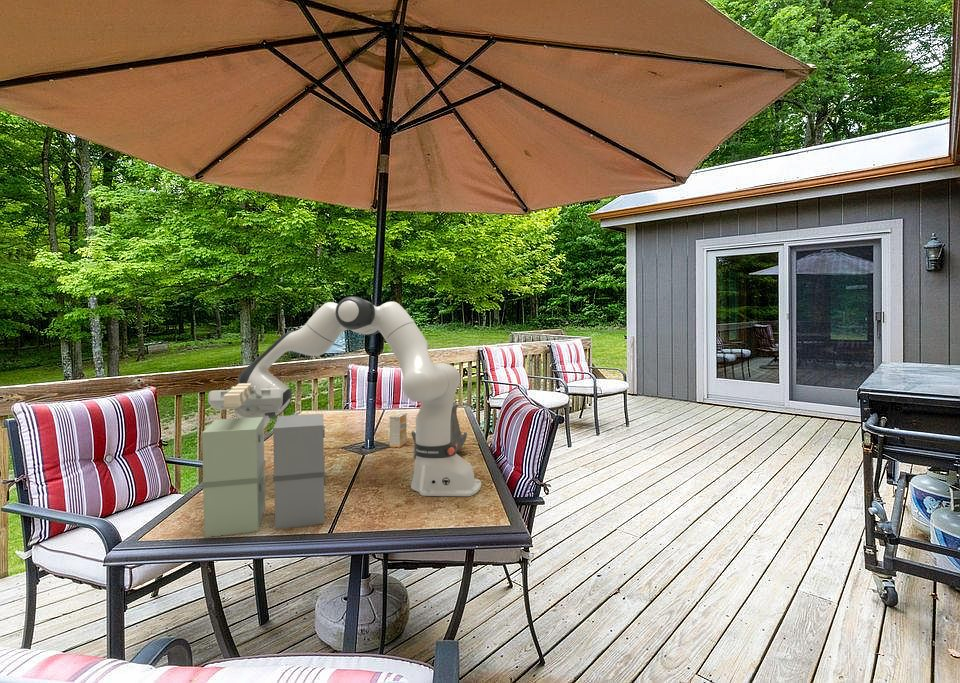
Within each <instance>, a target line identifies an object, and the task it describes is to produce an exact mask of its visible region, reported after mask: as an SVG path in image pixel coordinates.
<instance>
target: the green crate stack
mask: <svg viewBox="0 0 960 683" xmlns="http://www.w3.org/2000/svg"><path fill="white" fill-rule="evenodd" d="M201 439H202V440H201V445H202V447H201V449H202V452H201V453H202V483H201V488H202V489H203V490H202V491H203V520H204V521H203V523H204V524H203V526H204V527H203V528H204V531H203V532H204V538H211V536H214V537H219V536H220V537H221V535H223V536H229V535H230V536H231V535H237V534H238V535H239V534H246V533H256V532H255V531H257V532H259V530H258V529H260V526H261V522H262V520H263V516H264V514H263V513H265V510H266V479H265V477H266V476H265V474H266V473H265V466H266V460H265V428H264V419H263V417H253V418H238V417H237V418H219V419H215V420H214V421H213V422H211V423H210V424H209V425H208V426H207V427H206V428H205V429H204V430H203V431H201Z"/></svg>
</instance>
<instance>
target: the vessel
mask: <svg viewBox="0 0 960 683" xmlns="http://www.w3.org/2000/svg"><path fill="white" fill-rule="evenodd" d="M421 404H422V402H420V405H421ZM457 408H458V403H457V402H455V401H454V402H453V407H452V412H451V422H450V441H451V442H452V443H453V444H456V443H457V448H456V453H457V452H458V451H459V450H460V449H461V448H462V447H463V446H464V444H465V443H466V441H467V440H466V439H467V436H468V433H467V432H466V431H464V432H463V433H462V432H461V428H460V423H459V419H458V412H457V410H458V409H457ZM410 434H411V437H412V440H413V442H414V443H415V442H416V431H415V430H412V431H411V433H410Z"/></svg>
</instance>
